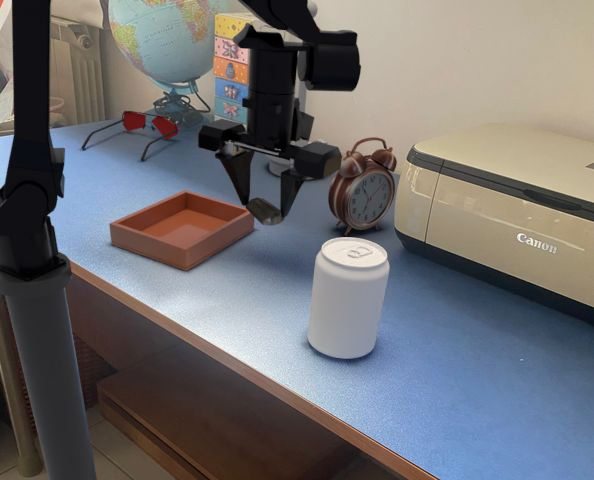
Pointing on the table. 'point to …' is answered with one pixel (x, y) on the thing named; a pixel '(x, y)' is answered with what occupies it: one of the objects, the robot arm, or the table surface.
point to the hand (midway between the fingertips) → (264, 210)
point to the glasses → (139, 121)
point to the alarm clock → (363, 187)
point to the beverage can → (347, 297)
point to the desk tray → (182, 229)
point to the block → (264, 212)
